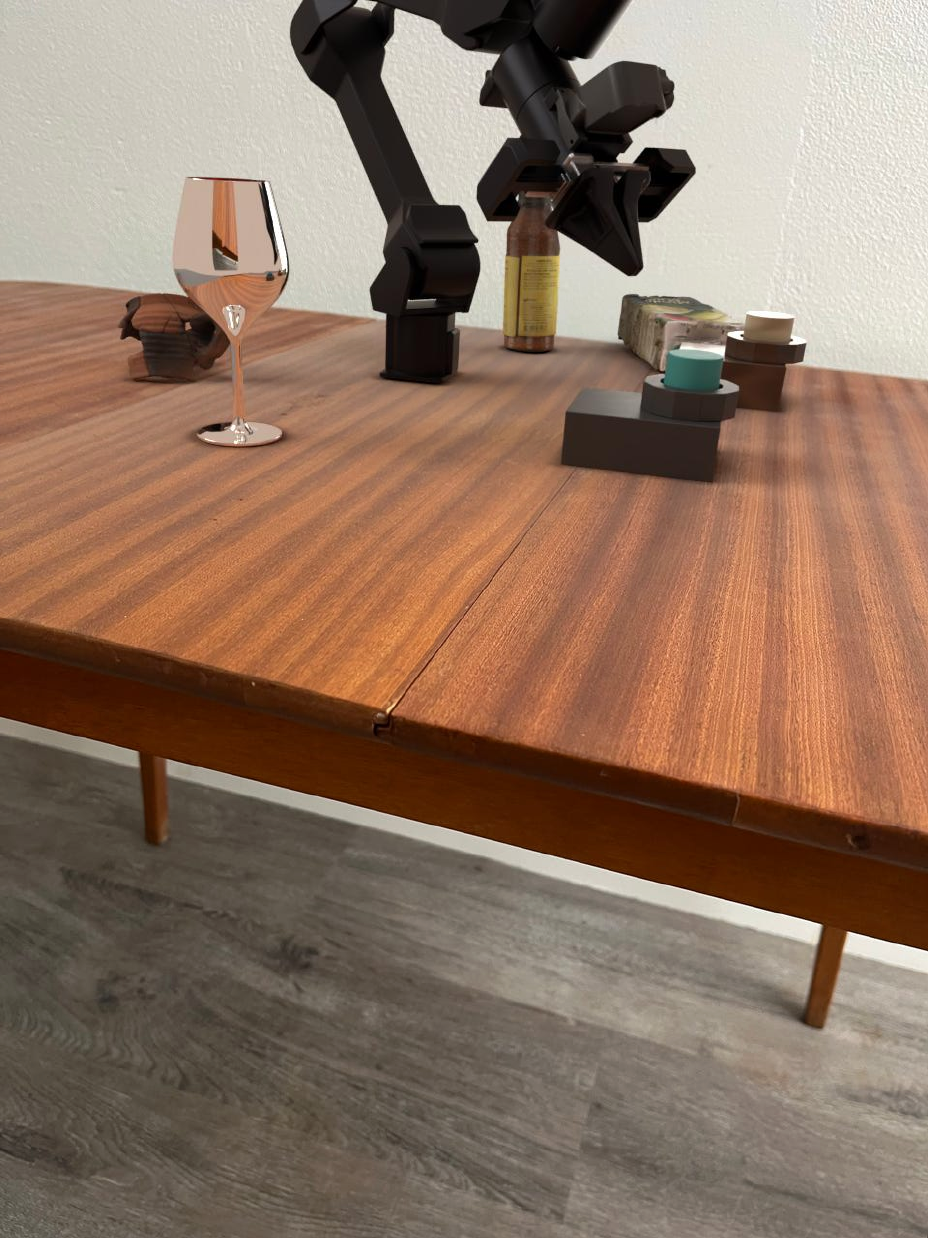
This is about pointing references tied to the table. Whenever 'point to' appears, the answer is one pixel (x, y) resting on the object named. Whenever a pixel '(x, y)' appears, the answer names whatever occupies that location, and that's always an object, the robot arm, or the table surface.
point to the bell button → (768, 326)
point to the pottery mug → (171, 336)
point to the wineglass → (231, 275)
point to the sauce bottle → (531, 278)
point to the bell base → (755, 367)
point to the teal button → (693, 369)
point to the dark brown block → (648, 429)
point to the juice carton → (670, 325)
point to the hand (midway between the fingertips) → (636, 272)
